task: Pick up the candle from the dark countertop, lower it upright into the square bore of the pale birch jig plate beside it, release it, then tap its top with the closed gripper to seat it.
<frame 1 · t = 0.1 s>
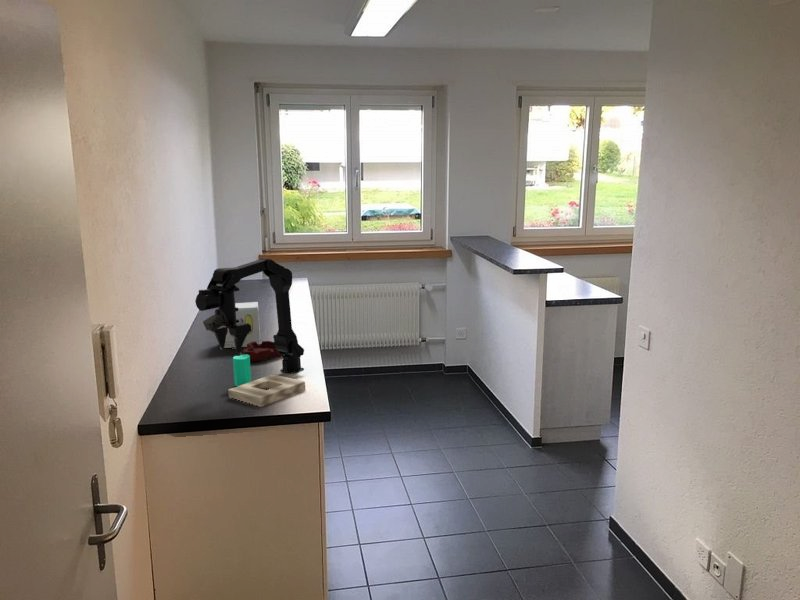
hand: (230, 350, 223), 14 cm above the table, tool pointing down, fingers open, 9 cm apart
jig: (267, 393, 221), on the table
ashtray: (265, 357, 268), on the table
supplement box: (241, 345, 289), on the table
candle: (243, 385, 231), on the table
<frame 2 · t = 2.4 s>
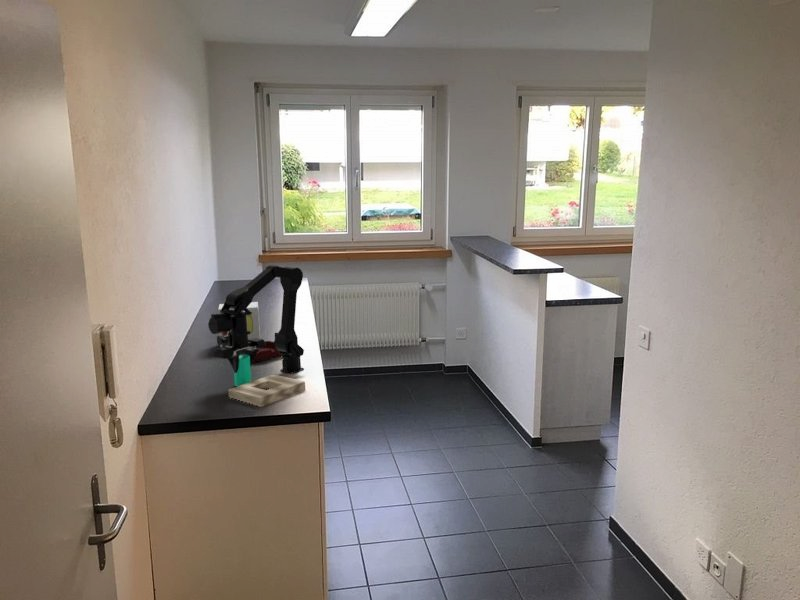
hand: (242, 371, 230), 5 cm above the table, tool pointing down, fingers closed on candle, 5 cm apart
candle: (243, 385, 231), on the table, touching gripper
everything else where it was.
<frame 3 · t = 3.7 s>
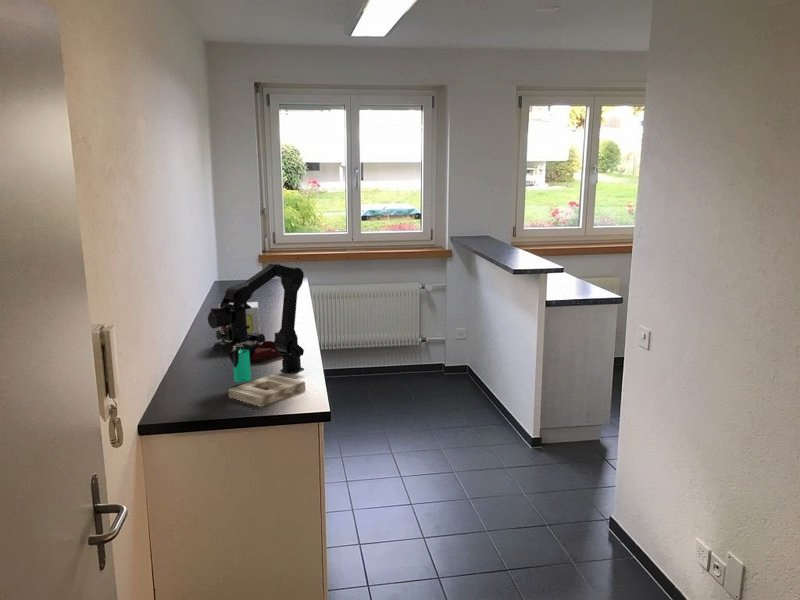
hand: (241, 366, 230), 7 cm above the table, tool pointing down, fingers closed on candle, 5 cm apart
candle: (242, 380, 231), point 2 cm above the table, touching gripper
everything else where it was.
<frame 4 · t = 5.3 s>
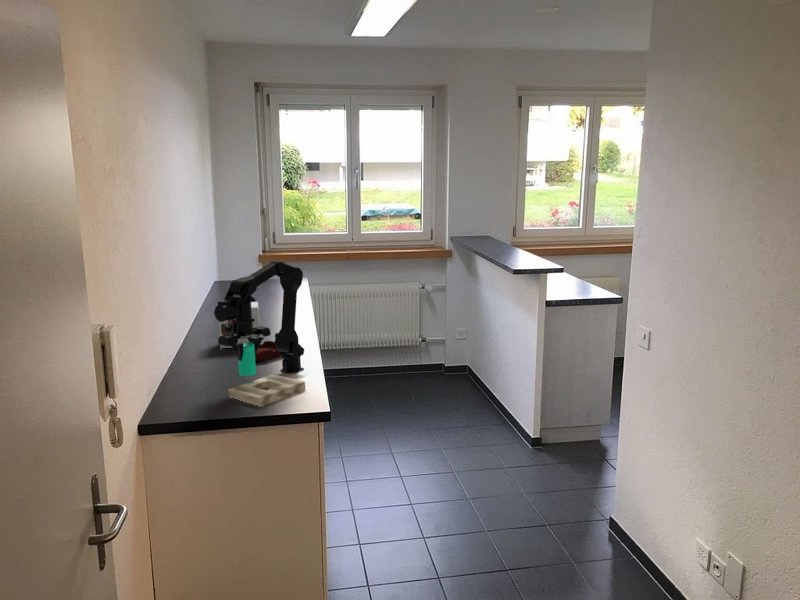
hand: (246, 359, 227), 10 cm above the table, tool pointing down, fingers closed on candle, 5 cm apart
candle: (247, 374, 228), point 5 cm above the table, touching gripper
everything else where it was.
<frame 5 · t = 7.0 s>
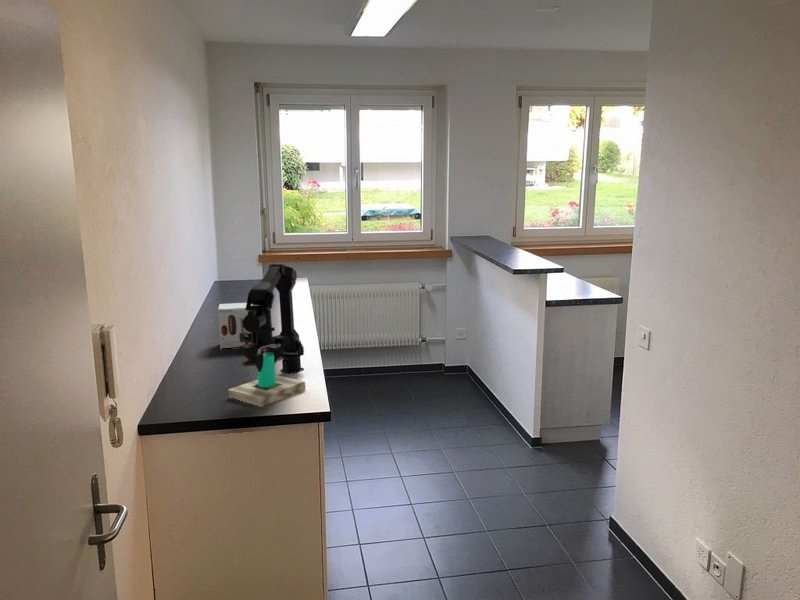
hand: (266, 370, 220), 8 cm above the table, tool pointing down, fingers closed on candle, 5 cm apart
candle: (267, 384, 220), point 3 cm above the table, touching gripper
everything else where it was.
when the fingers open (6 cm above the table, at t = 8.6 s): candle stays where it is, resting in jig.
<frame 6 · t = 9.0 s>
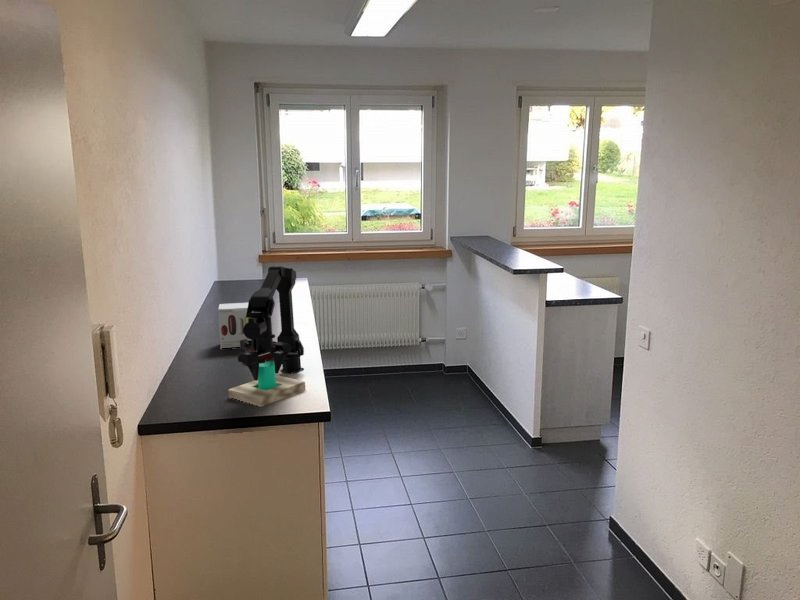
hand: (266, 376, 220), 6 cm above the table, tool pointing down, fingers open, 9 cm apart
candle: (267, 394, 221), resting in jig
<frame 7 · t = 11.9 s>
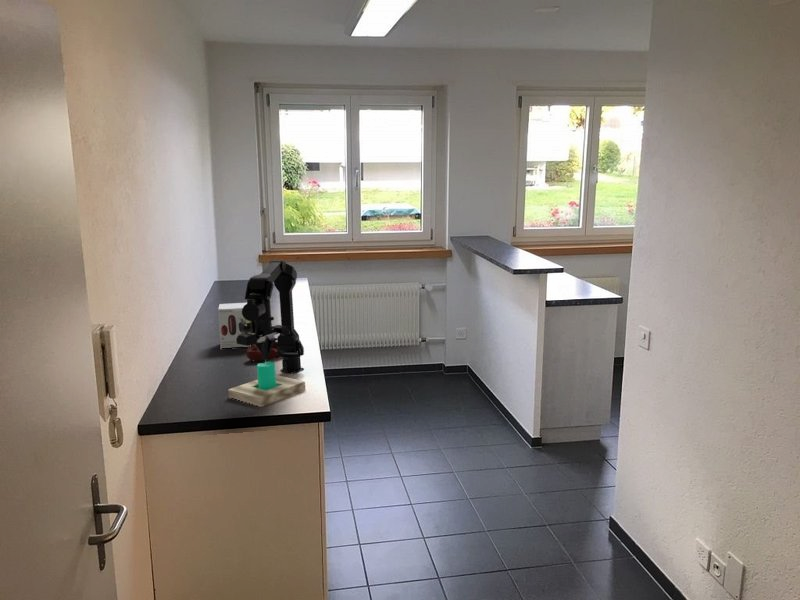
hand: (265, 359, 219), 12 cm above the table, tool pointing down, fingers closed
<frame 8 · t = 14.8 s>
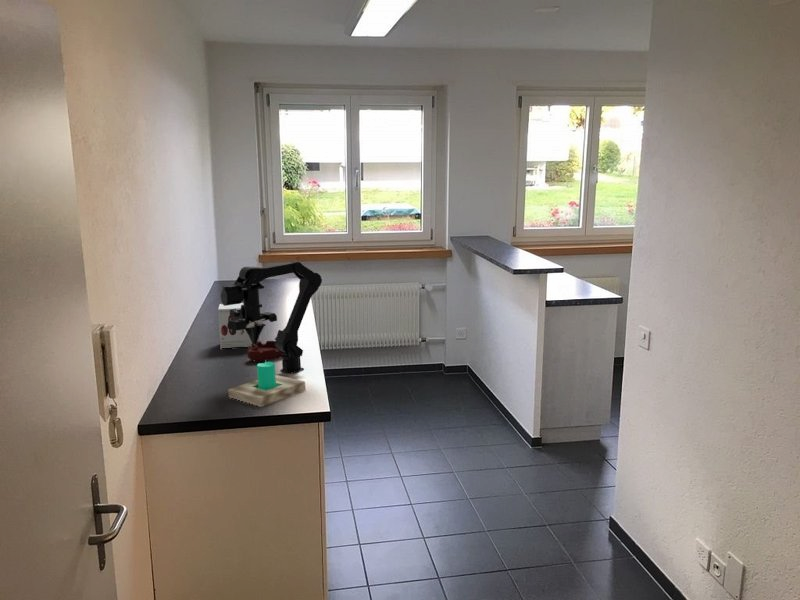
hand: (254, 344, 236), 13 cm above the table, tool pointing down, fingers closed
at the end: candle 0.1 cm off-centre on the jig, point 0.0 cm above the jig's base; candle tilted 0°; the gripper is holding nothing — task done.
